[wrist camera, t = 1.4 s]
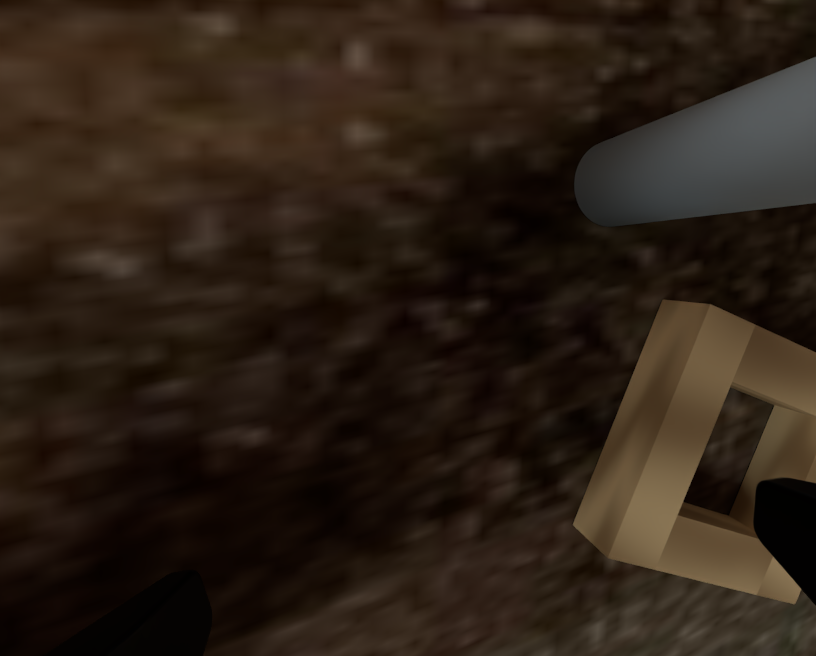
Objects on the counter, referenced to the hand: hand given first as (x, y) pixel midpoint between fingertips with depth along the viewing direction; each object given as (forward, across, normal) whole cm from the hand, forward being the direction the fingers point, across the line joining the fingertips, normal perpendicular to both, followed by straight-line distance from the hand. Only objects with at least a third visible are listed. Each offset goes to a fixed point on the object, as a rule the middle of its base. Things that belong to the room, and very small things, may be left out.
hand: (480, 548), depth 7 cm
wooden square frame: (+13, +13, -8) cm, 20 cm away
